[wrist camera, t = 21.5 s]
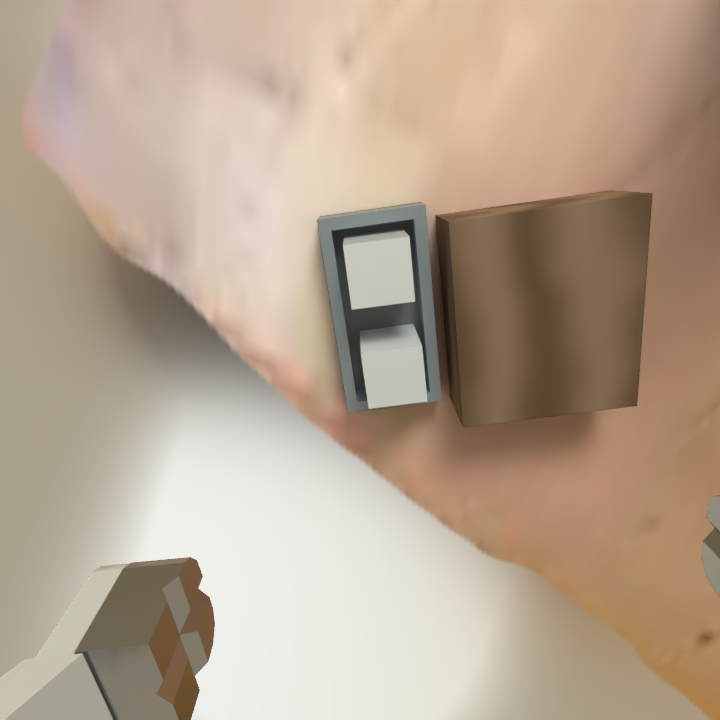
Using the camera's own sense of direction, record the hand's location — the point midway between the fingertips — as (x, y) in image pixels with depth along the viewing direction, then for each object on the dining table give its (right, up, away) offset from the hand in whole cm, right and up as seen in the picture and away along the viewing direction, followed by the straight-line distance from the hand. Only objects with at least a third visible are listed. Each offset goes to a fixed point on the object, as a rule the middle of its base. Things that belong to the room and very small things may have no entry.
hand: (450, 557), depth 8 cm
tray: (0, +7, +28) cm, 29 cm away
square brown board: (+11, +7, +28) cm, 31 cm away
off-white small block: (+1, +4, +29) cm, 30 cm away
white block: (0, +10, +27) cm, 29 cm away
